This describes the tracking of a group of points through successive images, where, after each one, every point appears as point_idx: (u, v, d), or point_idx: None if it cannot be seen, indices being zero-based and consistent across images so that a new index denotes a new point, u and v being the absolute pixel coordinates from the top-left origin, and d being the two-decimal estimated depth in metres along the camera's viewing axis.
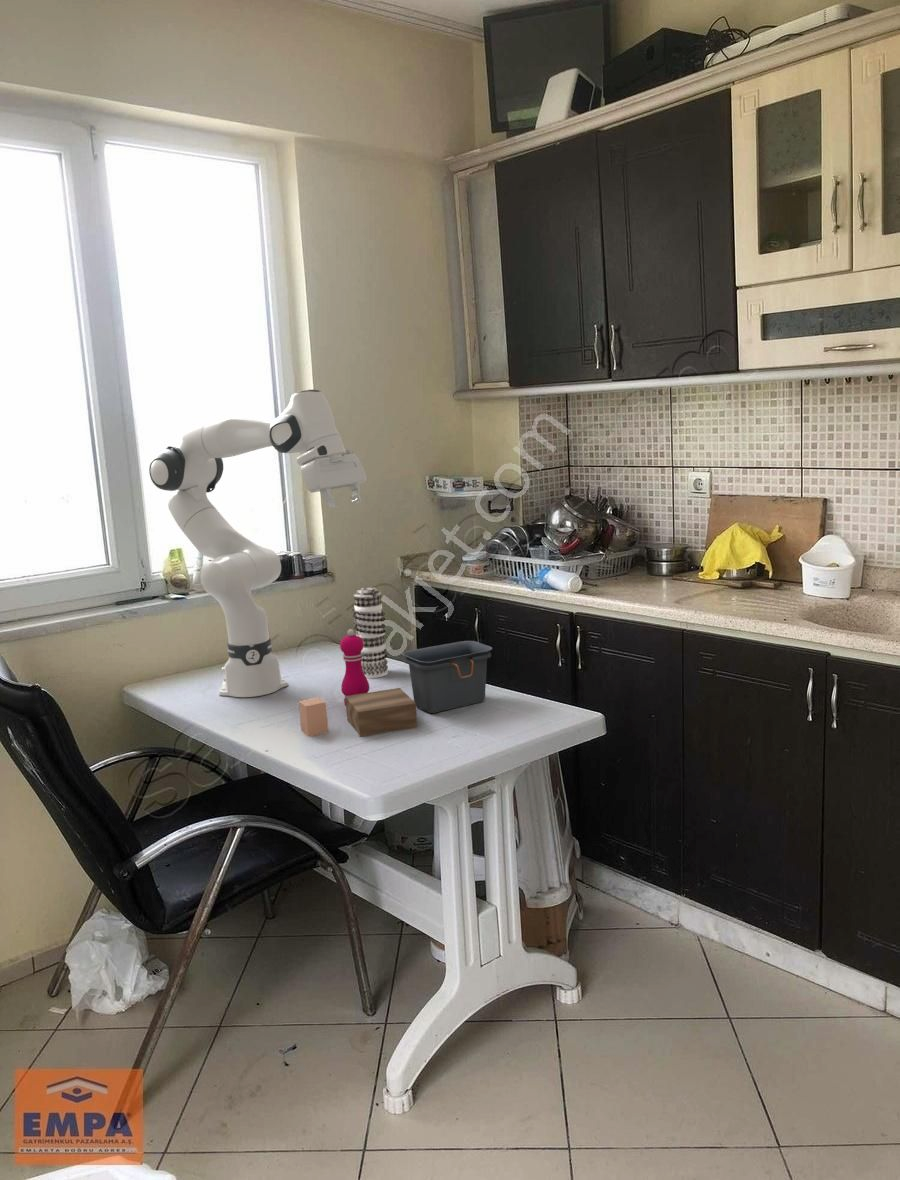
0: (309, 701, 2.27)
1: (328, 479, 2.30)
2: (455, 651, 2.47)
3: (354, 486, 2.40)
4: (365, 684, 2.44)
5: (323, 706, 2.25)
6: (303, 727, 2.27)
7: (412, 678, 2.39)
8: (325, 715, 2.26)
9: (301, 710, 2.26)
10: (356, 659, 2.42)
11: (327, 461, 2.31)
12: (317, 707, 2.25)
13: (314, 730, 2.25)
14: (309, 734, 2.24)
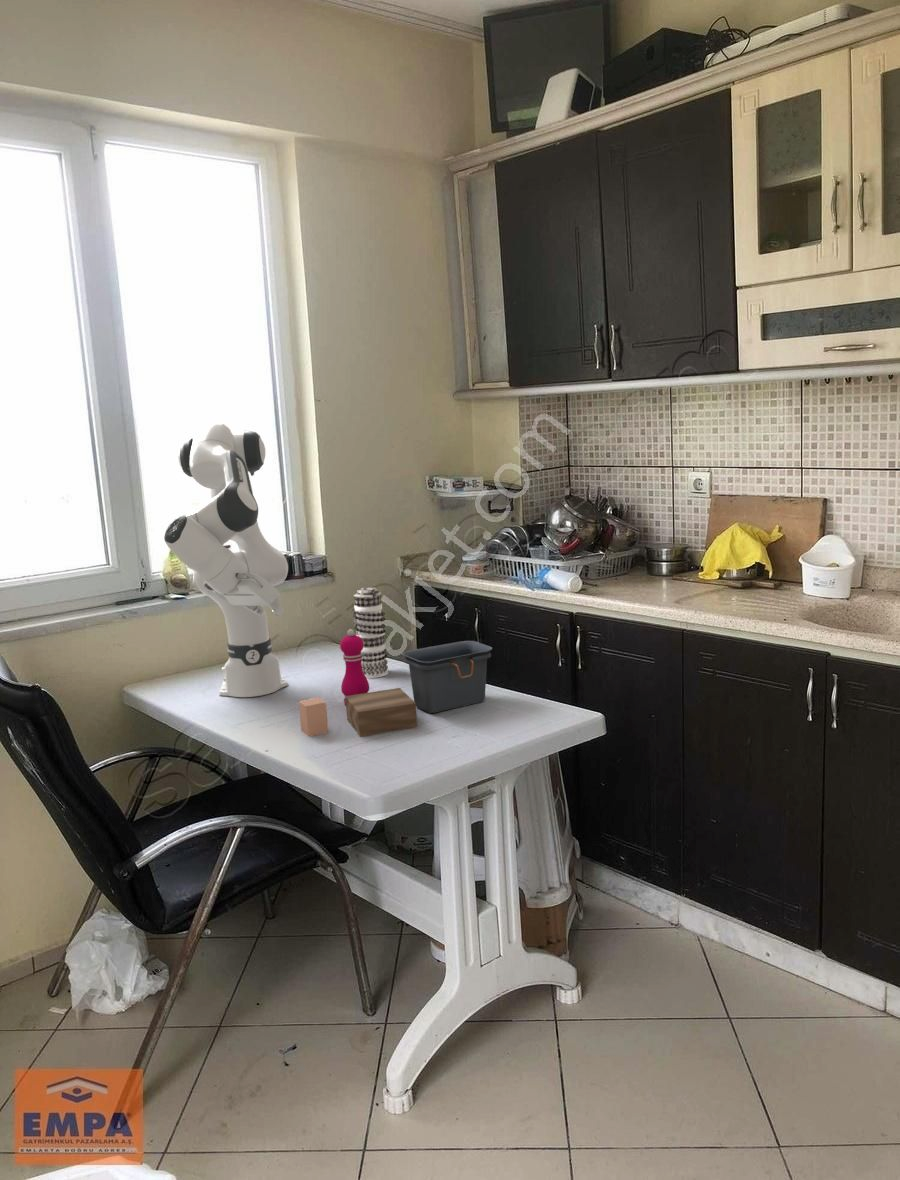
0: (309, 701, 2.27)
1: (234, 601, 2.18)
2: (455, 651, 2.47)
3: None
4: (365, 684, 2.44)
5: (323, 706, 2.25)
6: (303, 727, 2.27)
7: (412, 678, 2.39)
8: (325, 715, 2.26)
9: (301, 710, 2.26)
10: (356, 659, 2.42)
11: None
12: (317, 707, 2.25)
13: (314, 730, 2.25)
14: (309, 734, 2.24)
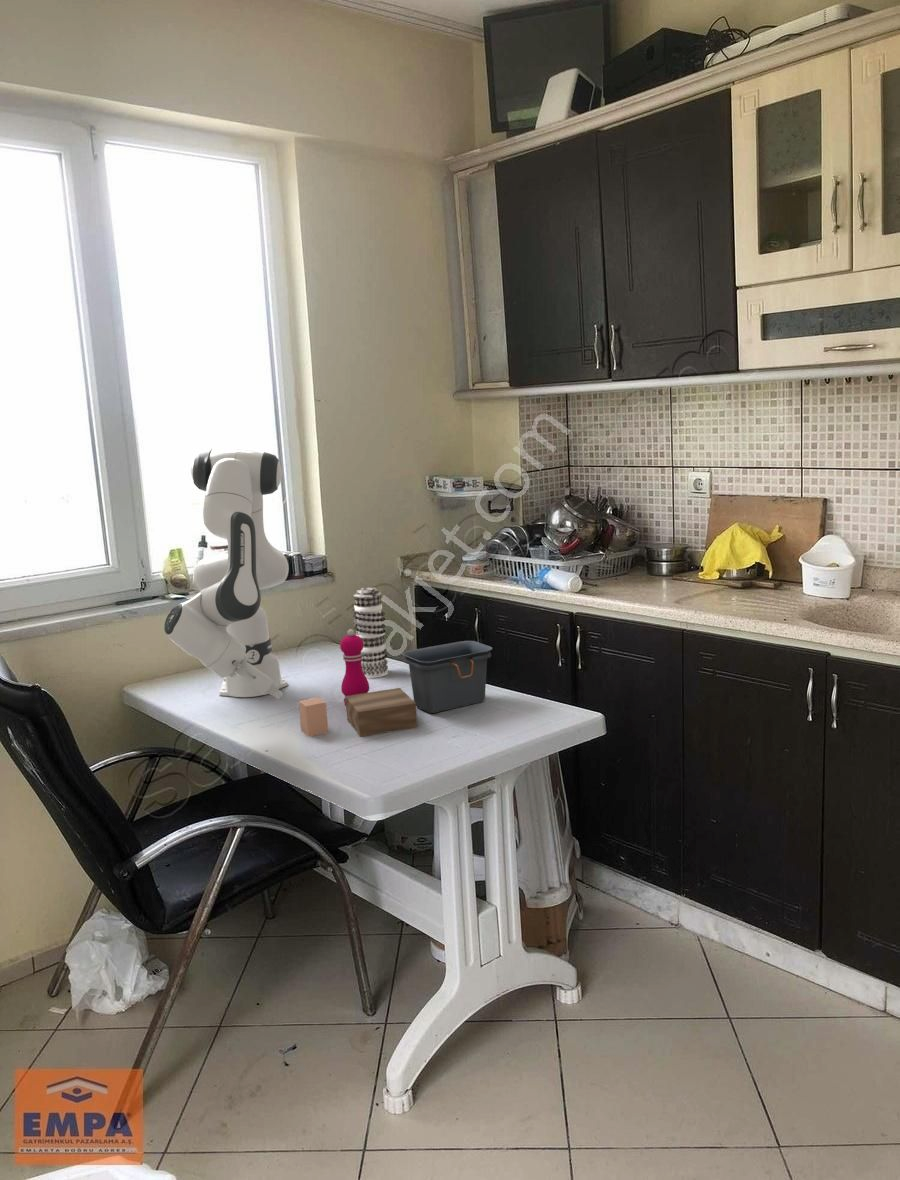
0: (309, 701, 2.27)
1: None
2: (455, 651, 2.47)
3: None
4: (365, 684, 2.44)
5: (323, 706, 2.25)
6: (303, 727, 2.27)
7: (412, 678, 2.39)
8: (325, 715, 2.26)
9: (301, 710, 2.26)
10: (356, 659, 2.42)
11: None
12: (317, 707, 2.25)
13: (314, 730, 2.25)
14: (309, 734, 2.24)
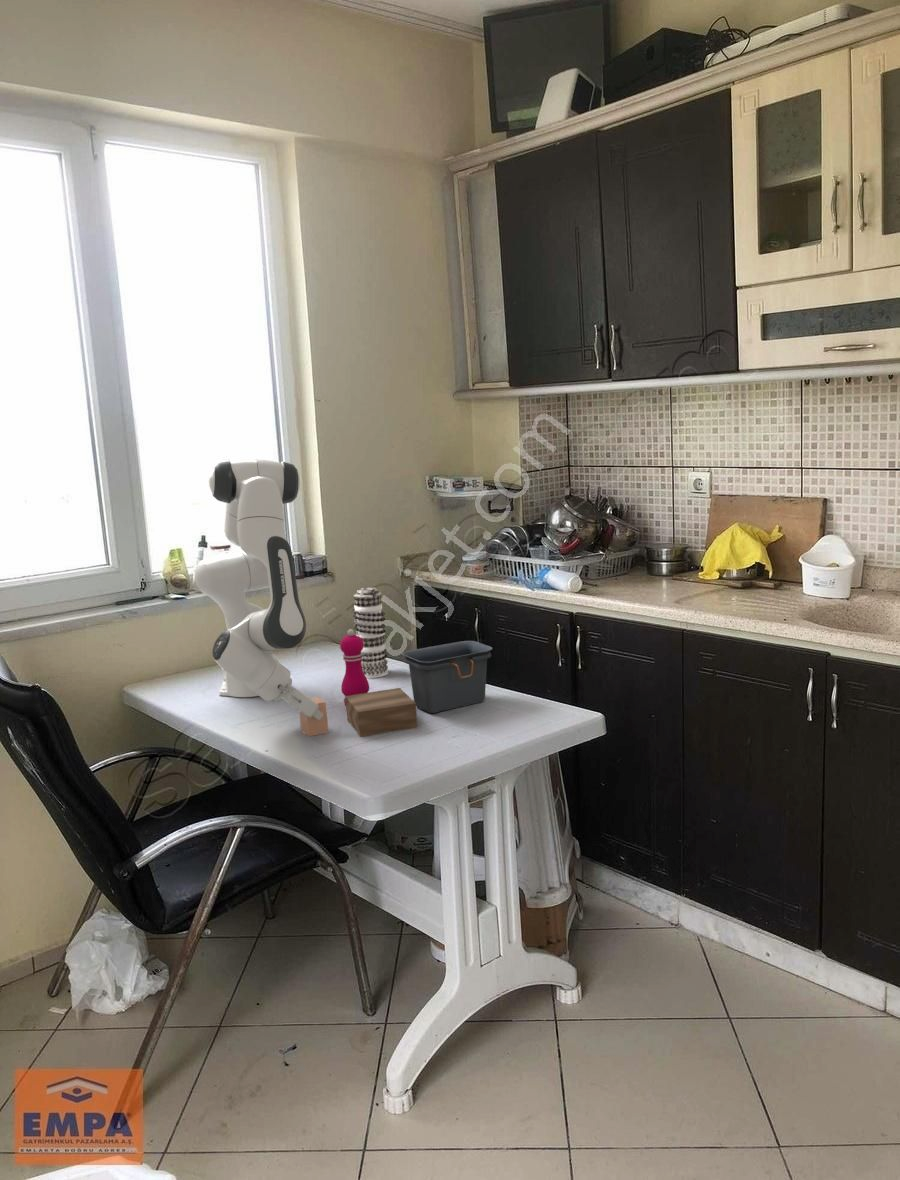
0: None
1: None
2: (455, 651, 2.47)
3: None
4: (365, 684, 2.44)
5: (323, 706, 2.25)
6: (303, 727, 2.27)
7: (412, 678, 2.39)
8: (325, 715, 2.26)
9: None
10: (356, 659, 2.42)
11: None
12: None
13: (314, 730, 2.25)
14: (309, 734, 2.24)
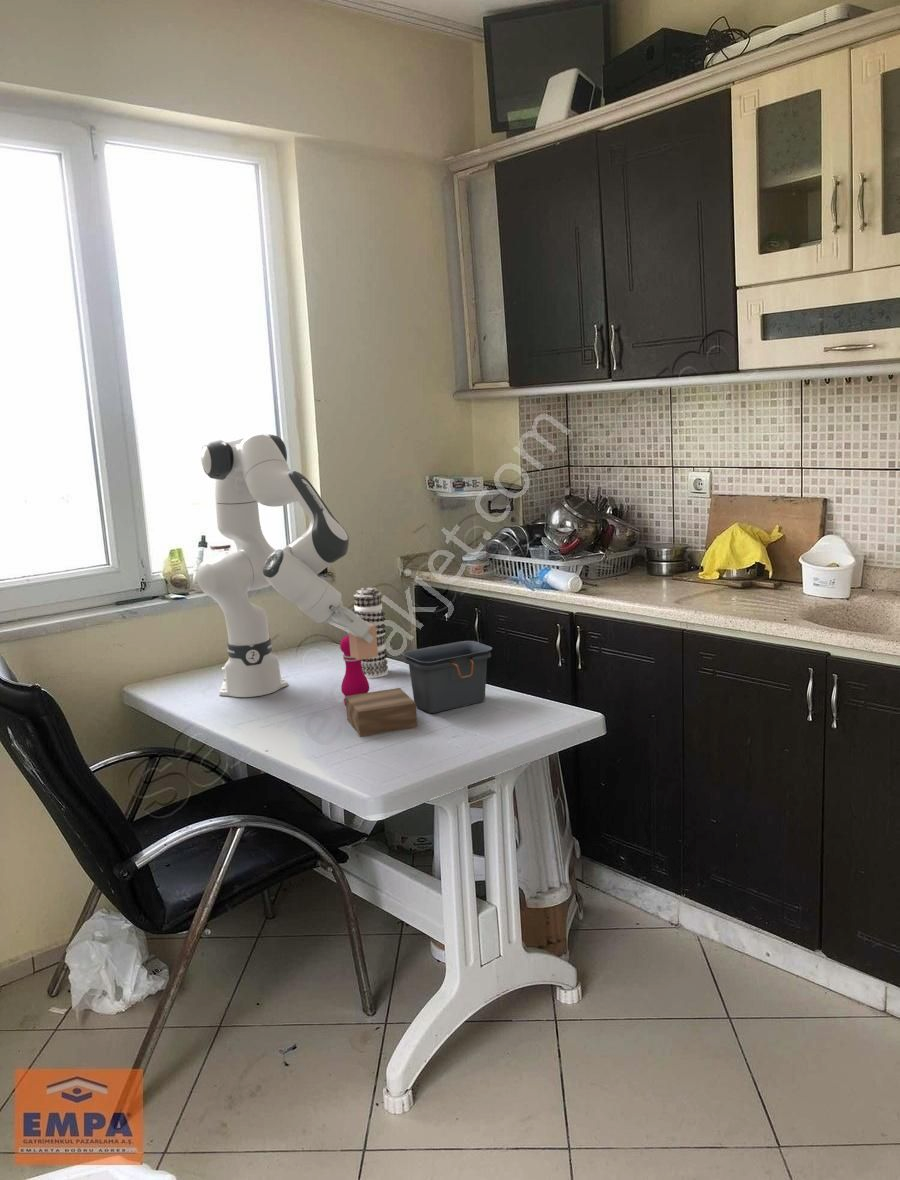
0: None
1: (332, 624, 2.28)
2: (455, 651, 2.47)
3: None
4: (365, 684, 2.44)
5: (373, 629, 2.24)
6: (353, 651, 2.26)
7: (412, 678, 2.39)
8: (375, 639, 2.25)
9: (351, 634, 2.25)
10: (356, 659, 2.42)
11: None
12: None
13: (364, 653, 2.24)
14: (359, 657, 2.23)
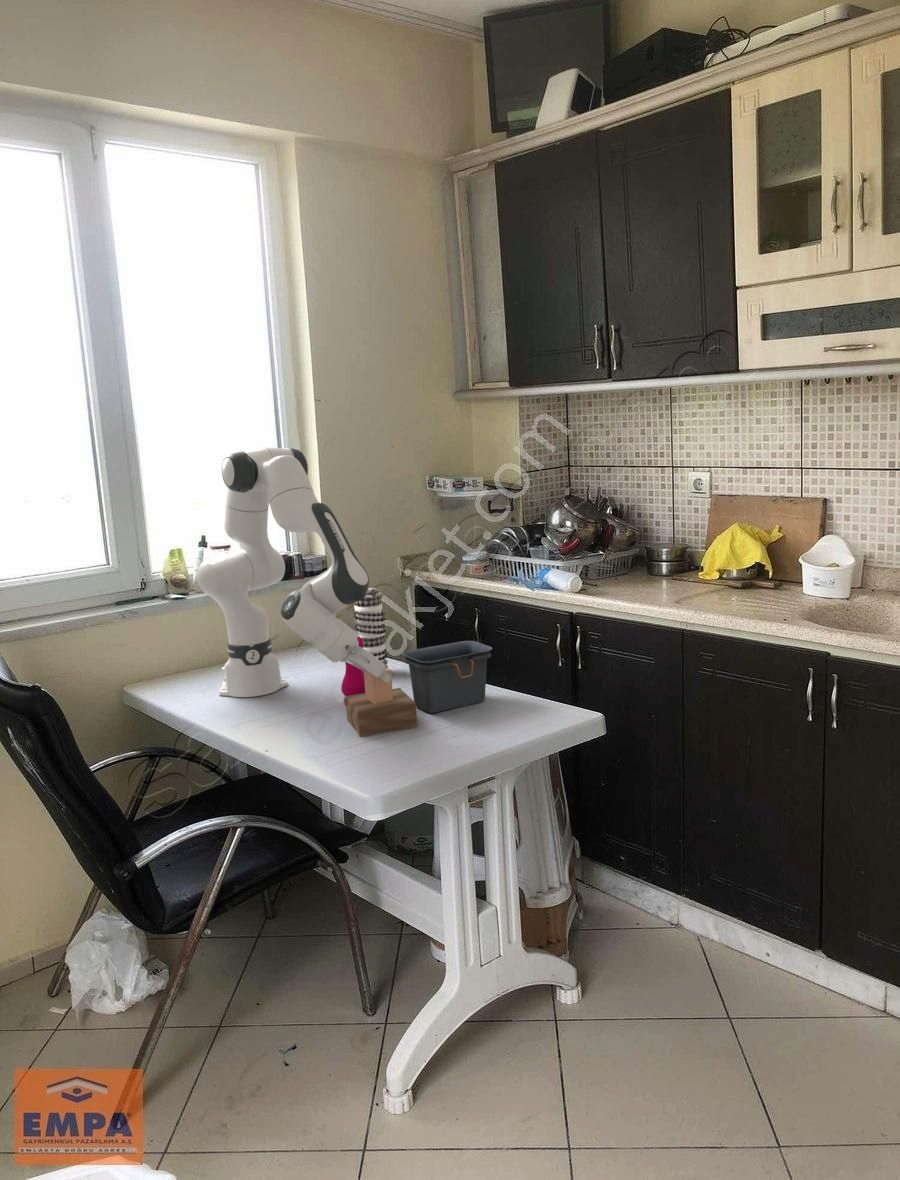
0: None
1: (347, 661, 2.30)
2: (455, 651, 2.47)
3: None
4: None
5: (388, 674, 2.27)
6: (368, 695, 2.29)
7: (412, 678, 2.39)
8: (390, 683, 2.28)
9: (366, 678, 2.28)
10: None
11: None
12: None
13: (379, 697, 2.27)
14: (375, 701, 2.26)
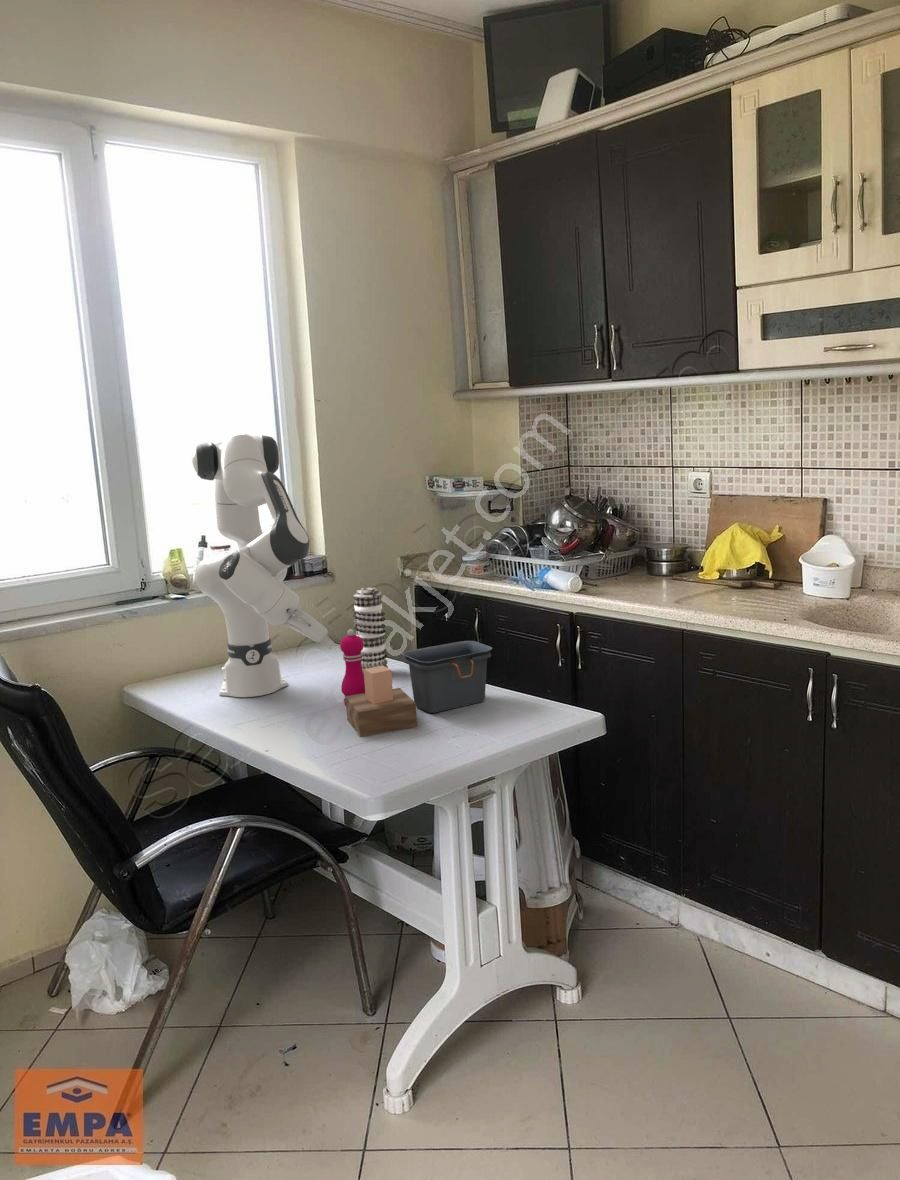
0: (374, 669, 2.29)
1: (290, 627, 2.23)
2: (455, 651, 2.47)
3: None
4: None
5: (388, 674, 2.27)
6: (368, 695, 2.29)
7: (412, 678, 2.39)
8: (390, 683, 2.28)
9: (366, 678, 2.28)
10: (356, 659, 2.42)
11: None
12: (383, 675, 2.26)
13: (379, 697, 2.27)
14: (375, 701, 2.26)
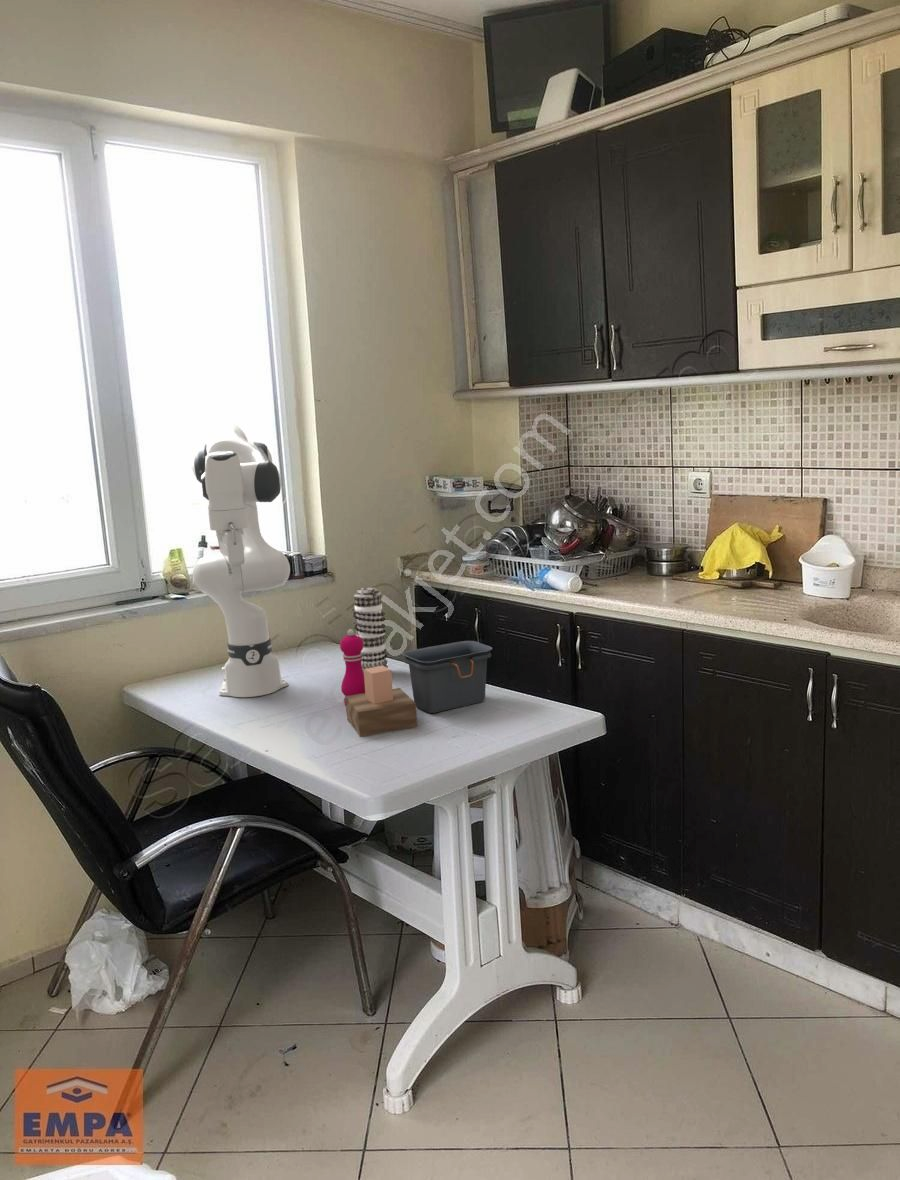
0: (374, 669, 2.29)
1: None
2: (455, 651, 2.47)
3: None
4: None
5: (388, 674, 2.27)
6: (368, 695, 2.29)
7: (412, 678, 2.39)
8: (390, 683, 2.28)
9: (366, 678, 2.28)
10: (356, 659, 2.42)
11: None
12: (383, 675, 2.26)
13: (379, 697, 2.27)
14: (375, 701, 2.26)
